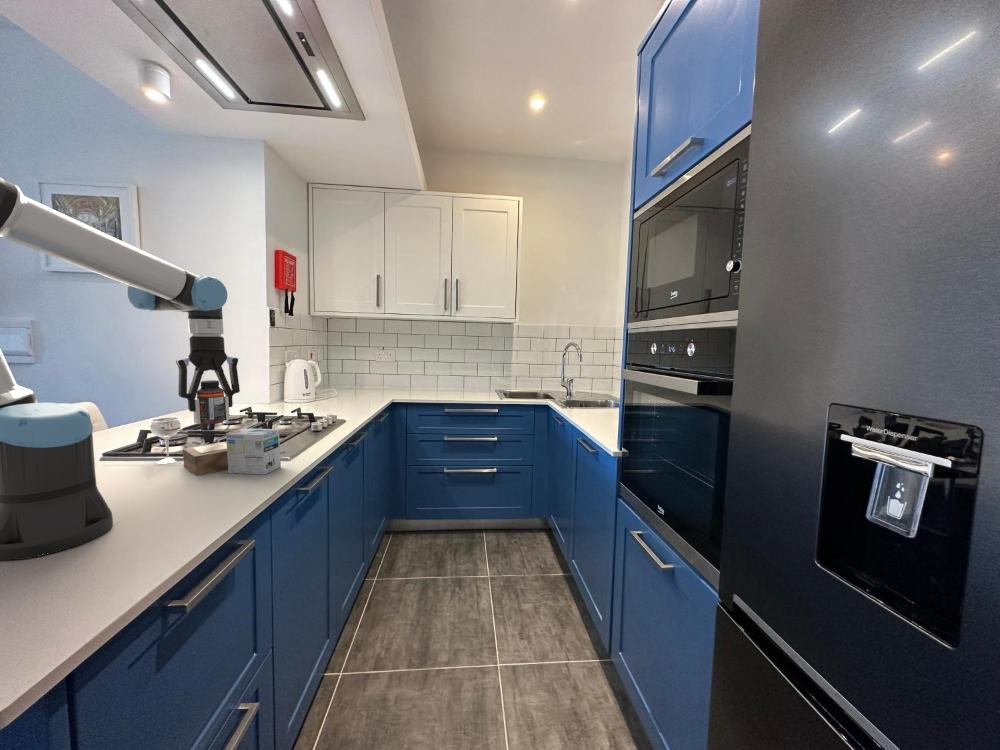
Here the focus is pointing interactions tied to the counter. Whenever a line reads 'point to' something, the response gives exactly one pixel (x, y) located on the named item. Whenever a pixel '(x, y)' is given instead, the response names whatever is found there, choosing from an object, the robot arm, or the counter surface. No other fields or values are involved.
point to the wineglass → (165, 432)
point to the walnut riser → (206, 458)
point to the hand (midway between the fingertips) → (212, 420)
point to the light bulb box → (253, 451)
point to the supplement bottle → (211, 402)
